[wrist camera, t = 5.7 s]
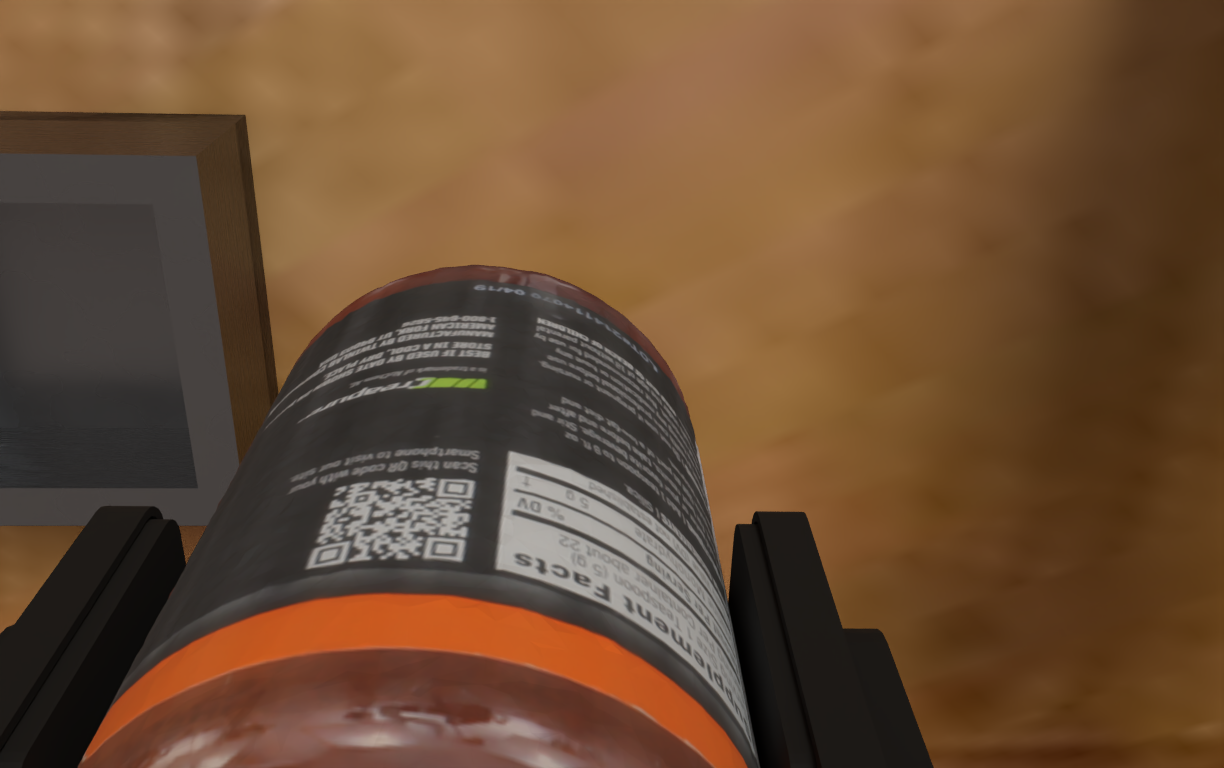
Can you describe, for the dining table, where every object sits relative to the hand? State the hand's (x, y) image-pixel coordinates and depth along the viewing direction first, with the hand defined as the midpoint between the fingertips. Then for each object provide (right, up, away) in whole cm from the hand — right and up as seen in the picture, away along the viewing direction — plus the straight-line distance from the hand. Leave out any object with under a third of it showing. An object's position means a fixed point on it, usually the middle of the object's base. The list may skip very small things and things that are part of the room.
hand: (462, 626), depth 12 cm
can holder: (-14, +5, +20) cm, 25 cm away
